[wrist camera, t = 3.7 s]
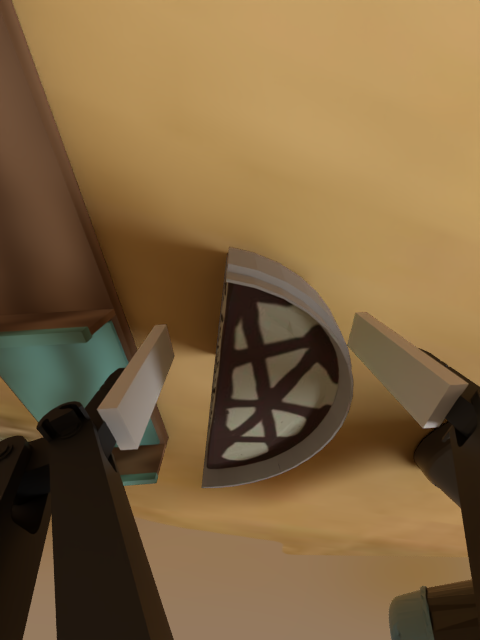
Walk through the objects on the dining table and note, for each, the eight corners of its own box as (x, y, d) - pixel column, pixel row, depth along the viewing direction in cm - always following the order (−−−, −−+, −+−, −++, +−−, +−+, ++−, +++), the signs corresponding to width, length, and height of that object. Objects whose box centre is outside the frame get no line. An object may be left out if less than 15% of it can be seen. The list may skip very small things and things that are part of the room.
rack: (-29, -112, 8) (-325, -488, 4) (168, 438, 24) (156, 483, 20) (-354, -105, 7) (-1067, -498, 3) (70, 445, 24) (38, 492, 20)
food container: (274, 371, 20) (310, 494, 11) (214, 366, 19) (201, 493, 10) (312, 244, 14) (445, 289, 6) (229, 231, 14) (228, 258, 5)
